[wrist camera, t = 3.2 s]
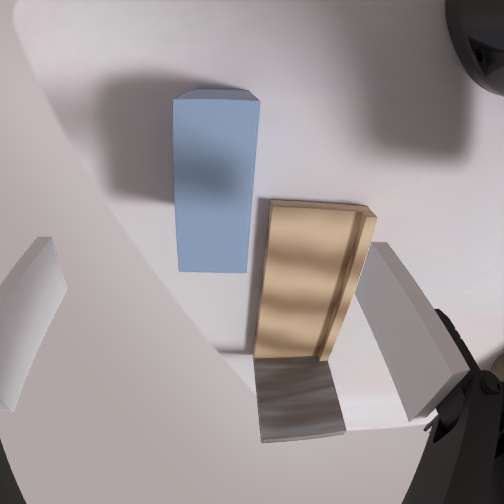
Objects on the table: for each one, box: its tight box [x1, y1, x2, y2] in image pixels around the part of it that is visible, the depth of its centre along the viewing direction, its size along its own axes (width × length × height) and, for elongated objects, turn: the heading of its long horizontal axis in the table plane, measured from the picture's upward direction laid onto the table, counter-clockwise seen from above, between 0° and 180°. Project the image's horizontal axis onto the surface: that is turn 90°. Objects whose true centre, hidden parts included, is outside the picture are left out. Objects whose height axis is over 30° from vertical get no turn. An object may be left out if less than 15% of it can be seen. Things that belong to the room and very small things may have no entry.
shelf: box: [253, 200, 377, 443], centre depth 30 cm, size 23×10×14 cm, turn 176°
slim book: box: [173, 89, 260, 273], centre depth 21 cm, size 11×4×10 cm, turn 176°
